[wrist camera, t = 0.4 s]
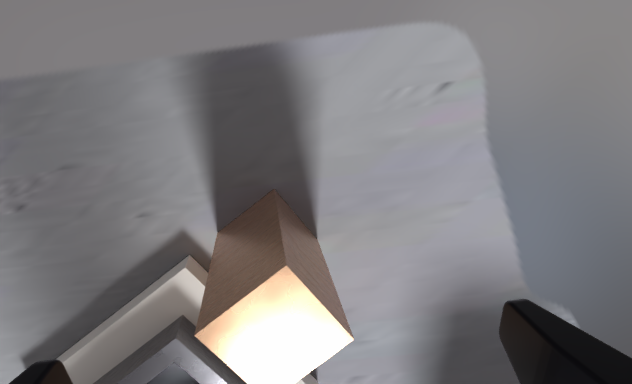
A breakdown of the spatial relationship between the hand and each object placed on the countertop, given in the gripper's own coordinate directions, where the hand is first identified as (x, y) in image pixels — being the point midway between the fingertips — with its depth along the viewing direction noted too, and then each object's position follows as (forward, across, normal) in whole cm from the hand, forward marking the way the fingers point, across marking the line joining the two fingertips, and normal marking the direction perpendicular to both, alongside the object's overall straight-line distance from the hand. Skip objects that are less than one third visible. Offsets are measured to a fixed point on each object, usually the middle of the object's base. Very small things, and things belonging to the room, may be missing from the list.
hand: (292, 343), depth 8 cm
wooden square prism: (+13, +1, +6) cm, 15 cm away
